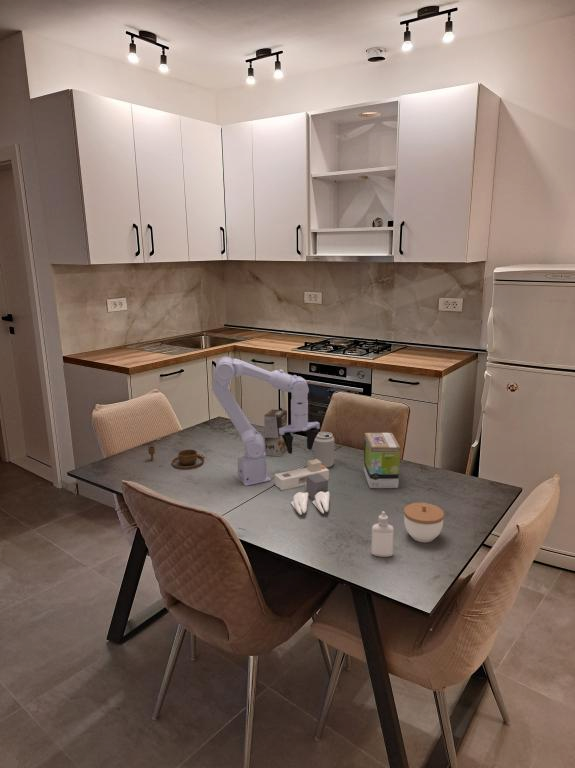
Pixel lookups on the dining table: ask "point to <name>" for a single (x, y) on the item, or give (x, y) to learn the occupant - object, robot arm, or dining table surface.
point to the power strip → (297, 477)
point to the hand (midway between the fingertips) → (299, 450)
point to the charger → (315, 485)
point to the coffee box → (275, 432)
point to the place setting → (183, 458)
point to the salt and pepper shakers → (302, 498)
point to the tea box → (381, 460)
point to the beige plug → (314, 465)
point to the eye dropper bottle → (382, 537)
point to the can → (324, 448)
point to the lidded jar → (423, 521)
